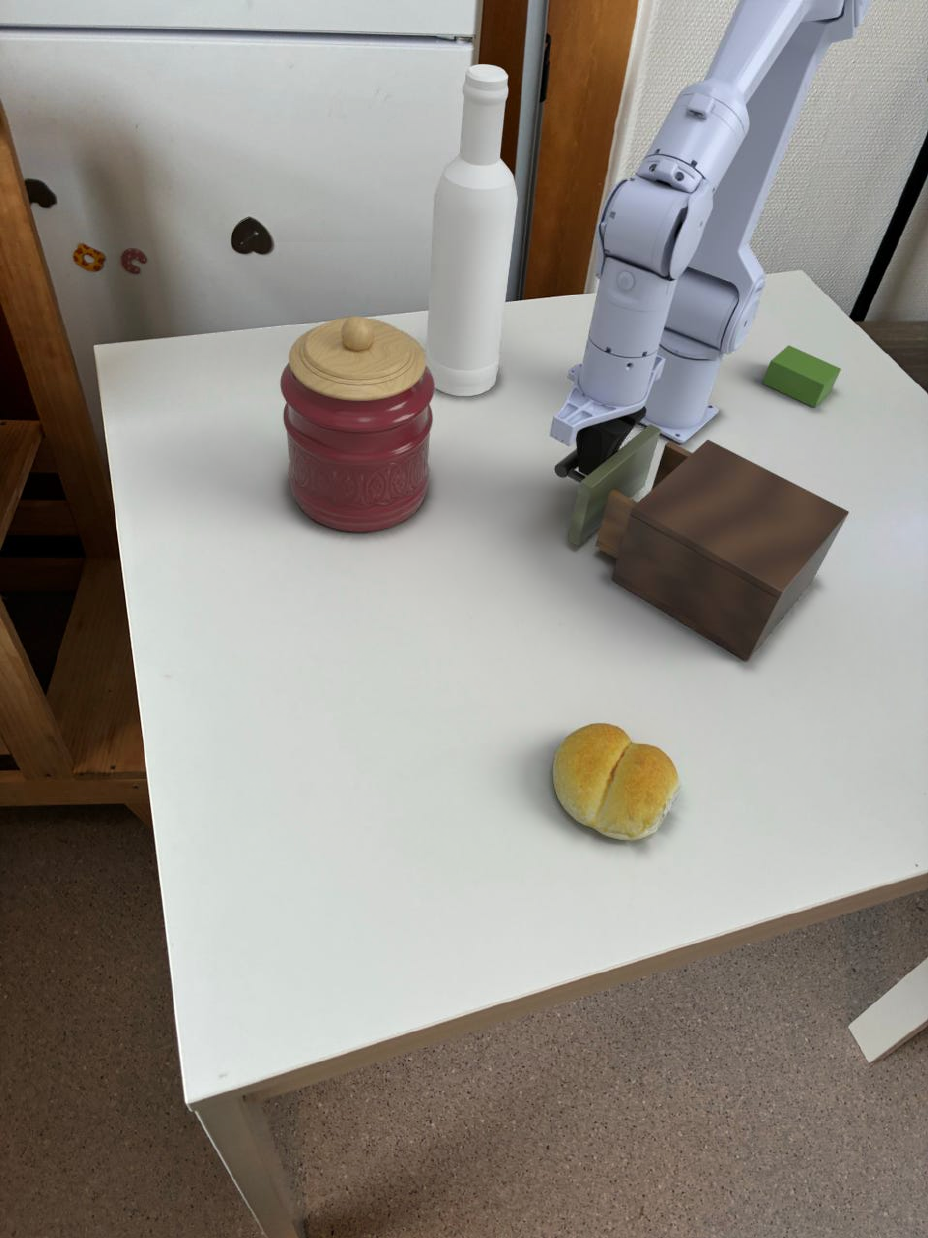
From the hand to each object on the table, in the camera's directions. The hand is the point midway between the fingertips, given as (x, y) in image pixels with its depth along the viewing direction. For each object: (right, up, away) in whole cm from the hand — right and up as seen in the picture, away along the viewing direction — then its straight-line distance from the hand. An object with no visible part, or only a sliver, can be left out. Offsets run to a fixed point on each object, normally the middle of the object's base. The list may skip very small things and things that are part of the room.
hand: (590, 472), depth 82 cm
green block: (+26, +13, +20) cm, 35 cm away
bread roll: (-1, -26, -16) cm, 31 cm away
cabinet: (+11, -10, -2) cm, 15 cm away
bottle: (-12, +13, +16) cm, 24 cm away
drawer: (+5, -5, +1) cm, 7 cm away
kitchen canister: (-21, -1, +3) cm, 22 cm away
